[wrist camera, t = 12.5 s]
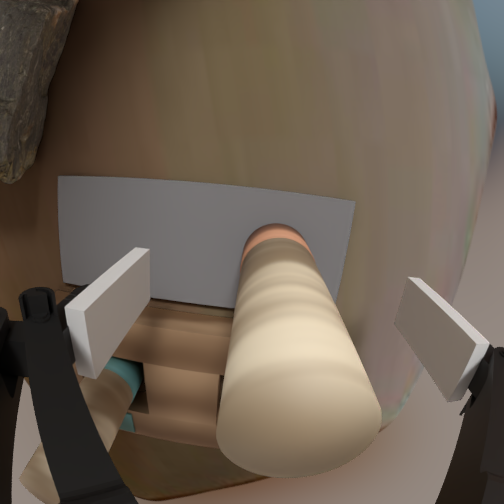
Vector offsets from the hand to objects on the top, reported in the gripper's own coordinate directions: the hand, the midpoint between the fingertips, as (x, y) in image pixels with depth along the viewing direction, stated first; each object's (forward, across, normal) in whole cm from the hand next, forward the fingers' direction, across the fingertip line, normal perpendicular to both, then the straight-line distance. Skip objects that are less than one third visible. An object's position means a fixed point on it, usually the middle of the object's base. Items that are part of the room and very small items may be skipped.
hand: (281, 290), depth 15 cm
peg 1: (+6, -11, -11) cm, 16 cm away
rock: (+6, -19, +12) cm, 24 cm away
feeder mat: (+5, -6, 0) cm, 8 cm away
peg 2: (+5, 0, 0) cm, 5 cm away
